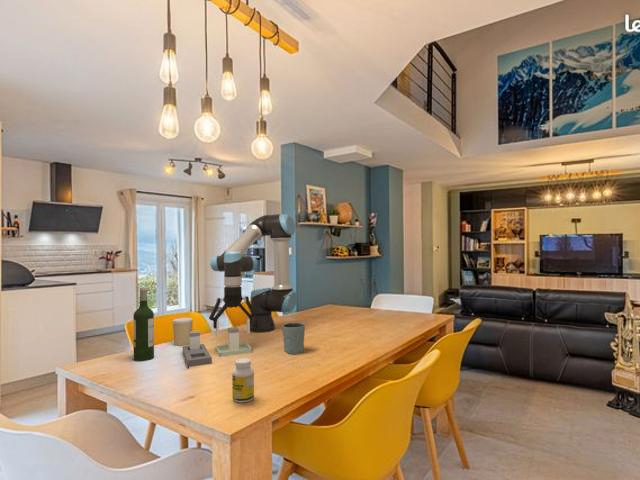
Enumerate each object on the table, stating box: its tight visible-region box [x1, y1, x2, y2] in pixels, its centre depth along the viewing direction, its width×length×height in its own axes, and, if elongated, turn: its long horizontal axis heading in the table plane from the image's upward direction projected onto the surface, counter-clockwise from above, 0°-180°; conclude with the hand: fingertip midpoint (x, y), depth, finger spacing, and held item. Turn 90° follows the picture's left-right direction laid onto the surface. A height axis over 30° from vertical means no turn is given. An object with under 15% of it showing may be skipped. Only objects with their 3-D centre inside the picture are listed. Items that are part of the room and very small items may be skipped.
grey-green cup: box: [281, 322, 306, 356], centre depth 164 cm, size 10×10×12 cm
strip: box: [182, 343, 213, 369], centre depth 156 cm, size 9×24×4 cm, turn 25°
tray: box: [214, 341, 253, 358], centre depth 165 cm, size 14×12×2 cm
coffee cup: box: [172, 317, 194, 347], centre depth 181 cm, size 9×9×12 cm
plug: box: [227, 326, 240, 351], centre depth 165 cm, size 4×4×10 cm
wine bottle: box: [132, 286, 155, 362], centre depth 158 cm, size 8×8×30 cm
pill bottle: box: [231, 357, 255, 403], centre depth 113 cm, size 6×6×12 cm
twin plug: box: [188, 330, 201, 350], centre depth 162 cm, size 4×4×10 cm
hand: (232, 334), depth 165 cm, fingers open, 13 cm apart
